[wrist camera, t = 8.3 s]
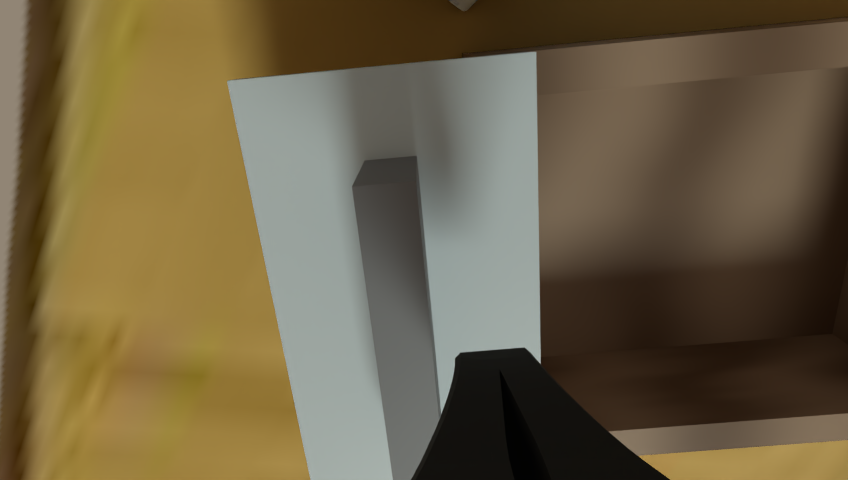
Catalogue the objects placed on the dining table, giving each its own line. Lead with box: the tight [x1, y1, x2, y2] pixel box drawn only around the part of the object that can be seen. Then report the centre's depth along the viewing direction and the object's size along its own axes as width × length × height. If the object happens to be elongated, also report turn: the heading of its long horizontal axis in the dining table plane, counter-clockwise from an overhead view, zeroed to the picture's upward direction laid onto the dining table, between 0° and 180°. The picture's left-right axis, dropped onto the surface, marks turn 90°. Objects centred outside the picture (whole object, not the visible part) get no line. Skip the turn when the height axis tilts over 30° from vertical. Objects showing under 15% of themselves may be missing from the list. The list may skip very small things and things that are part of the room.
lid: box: [227, 52, 541, 480], centre depth 13 cm, size 7×12×3 cm, turn 5°
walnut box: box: [462, 17, 848, 456], centre depth 16 cm, size 14×12×5 cm
